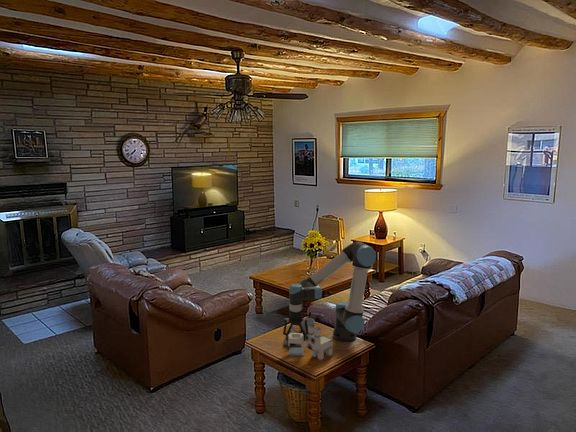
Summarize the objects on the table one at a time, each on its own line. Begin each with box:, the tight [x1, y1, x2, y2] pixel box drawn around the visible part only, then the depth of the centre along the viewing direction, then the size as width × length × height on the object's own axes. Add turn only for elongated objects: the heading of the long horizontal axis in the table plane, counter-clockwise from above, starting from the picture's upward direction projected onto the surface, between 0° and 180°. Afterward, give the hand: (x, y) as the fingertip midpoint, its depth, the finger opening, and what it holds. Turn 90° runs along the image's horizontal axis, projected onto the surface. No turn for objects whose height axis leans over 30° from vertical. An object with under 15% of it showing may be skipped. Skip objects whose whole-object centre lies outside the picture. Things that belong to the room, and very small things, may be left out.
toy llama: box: [304, 325, 333, 362], centre depth 252 cm, size 8×18×20 cm, turn 131°
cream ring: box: [289, 332, 303, 344], centre depth 257 cm, size 8×8×3 cm
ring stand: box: [283, 325, 302, 348], centre depth 271 cm, size 11×11×12 cm
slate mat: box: [288, 347, 305, 357], centre depth 259 cm, size 9×10×1 cm
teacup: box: [298, 316, 316, 333], centre depth 289 cm, size 14×11×8 cm
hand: (296, 345), depth 258 cm, fingers closed on cream ring, 8 cm apart
